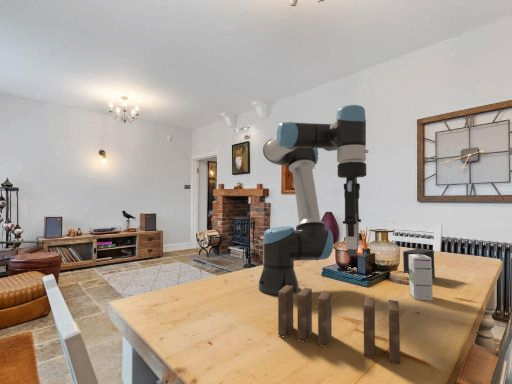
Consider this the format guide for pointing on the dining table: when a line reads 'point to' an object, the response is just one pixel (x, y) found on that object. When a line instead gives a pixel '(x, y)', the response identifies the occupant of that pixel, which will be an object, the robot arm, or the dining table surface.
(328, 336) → the domino
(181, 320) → the dining table surface
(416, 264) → the syrup box
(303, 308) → the domino
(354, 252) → the domino
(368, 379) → the dining table surface
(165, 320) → the dining table surface
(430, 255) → the small box
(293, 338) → the dining table surface
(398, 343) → the domino
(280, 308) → the domino
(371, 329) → the domino
